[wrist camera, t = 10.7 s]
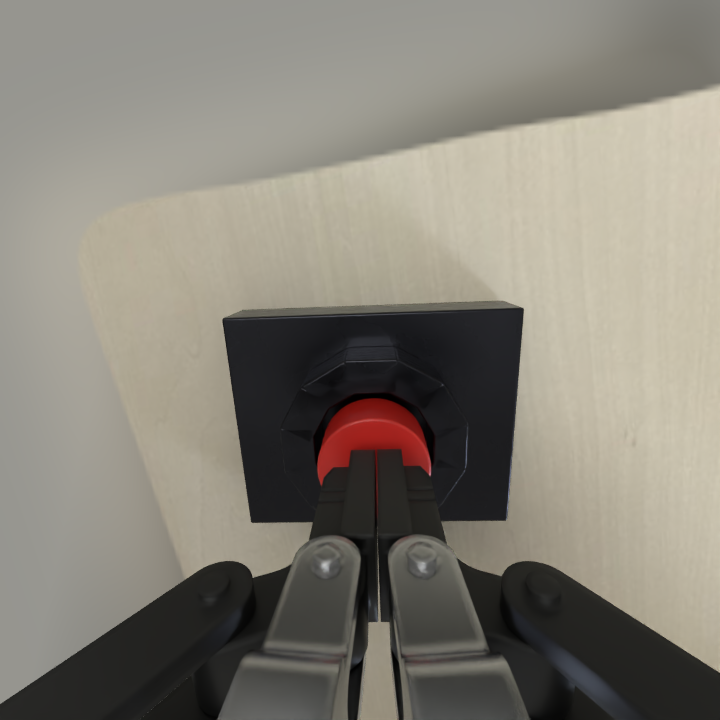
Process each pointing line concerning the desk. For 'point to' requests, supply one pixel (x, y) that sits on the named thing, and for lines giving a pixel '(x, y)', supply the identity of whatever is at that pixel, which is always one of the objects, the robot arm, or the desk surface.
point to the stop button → (372, 435)
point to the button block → (377, 396)
